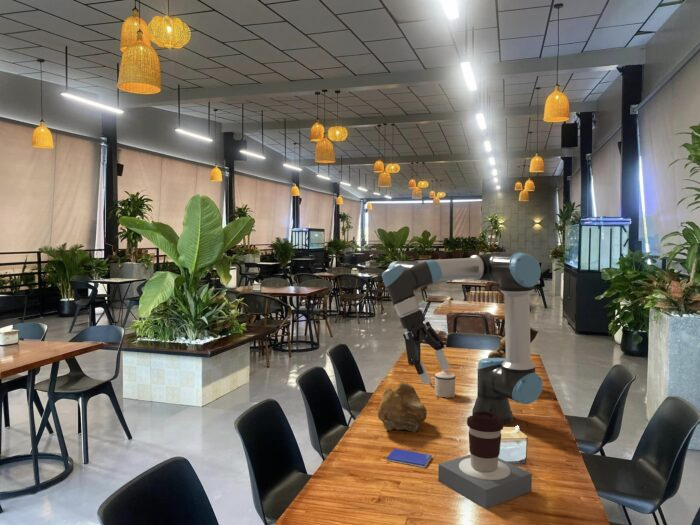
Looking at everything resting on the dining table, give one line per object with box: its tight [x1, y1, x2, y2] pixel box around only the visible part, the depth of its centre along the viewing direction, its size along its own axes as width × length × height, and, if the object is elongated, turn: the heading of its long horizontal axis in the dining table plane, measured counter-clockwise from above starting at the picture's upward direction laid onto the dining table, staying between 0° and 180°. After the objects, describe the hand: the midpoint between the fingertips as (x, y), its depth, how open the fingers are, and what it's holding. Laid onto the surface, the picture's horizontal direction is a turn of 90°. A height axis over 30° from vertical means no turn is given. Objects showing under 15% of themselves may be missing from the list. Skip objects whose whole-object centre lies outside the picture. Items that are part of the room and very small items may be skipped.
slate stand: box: [437, 454, 533, 509], centre depth 148 cm, size 18×18×5 cm
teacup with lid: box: [428, 369, 457, 399], centre depth 232 cm, size 12×9×12 cm
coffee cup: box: [466, 411, 504, 472], centre depth 148 cm, size 10×10×15 cm
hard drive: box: [385, 448, 433, 469], centre depth 165 cm, size 2×8×12 cm
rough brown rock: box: [377, 381, 428, 433], centre depth 193 cm, size 23×17×15 cm
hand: (437, 376), depth 164 cm, fingers open, 13 cm apart
